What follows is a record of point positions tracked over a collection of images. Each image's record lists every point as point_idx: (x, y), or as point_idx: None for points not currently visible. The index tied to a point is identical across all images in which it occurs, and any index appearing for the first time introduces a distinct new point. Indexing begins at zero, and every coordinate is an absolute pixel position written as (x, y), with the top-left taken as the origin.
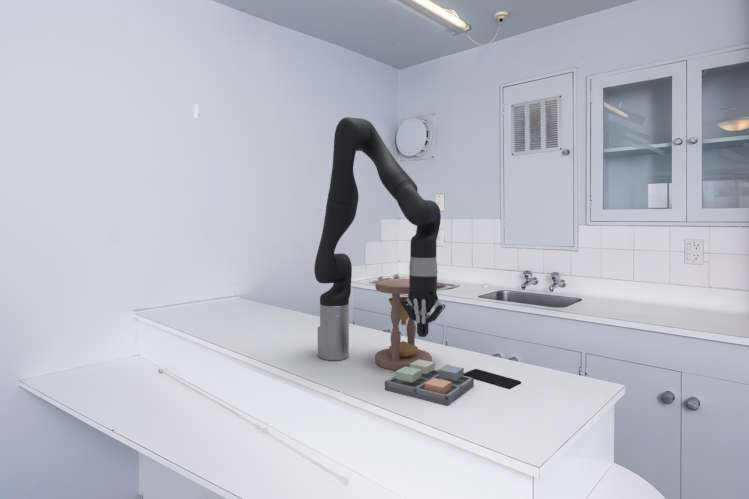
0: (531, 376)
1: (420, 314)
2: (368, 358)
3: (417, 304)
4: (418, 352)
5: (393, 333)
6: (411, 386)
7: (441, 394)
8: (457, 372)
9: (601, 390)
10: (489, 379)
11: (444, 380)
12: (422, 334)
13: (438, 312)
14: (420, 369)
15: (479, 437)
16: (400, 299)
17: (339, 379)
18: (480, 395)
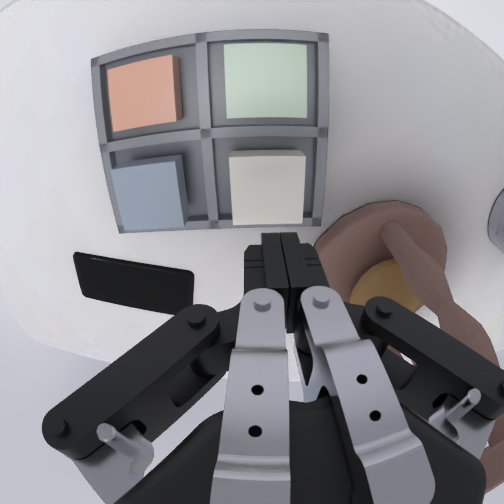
0: (98, 328)
1: (313, 362)
2: (453, 245)
3: (364, 453)
4: None
5: (440, 278)
6: None
7: (110, 56)
8: (113, 182)
9: (23, 316)
10: (124, 274)
11: (134, 123)
12: (266, 239)
13: (84, 386)
14: (231, 117)
15: (16, 16)
16: None
17: (457, 69)
18: (83, 177)
